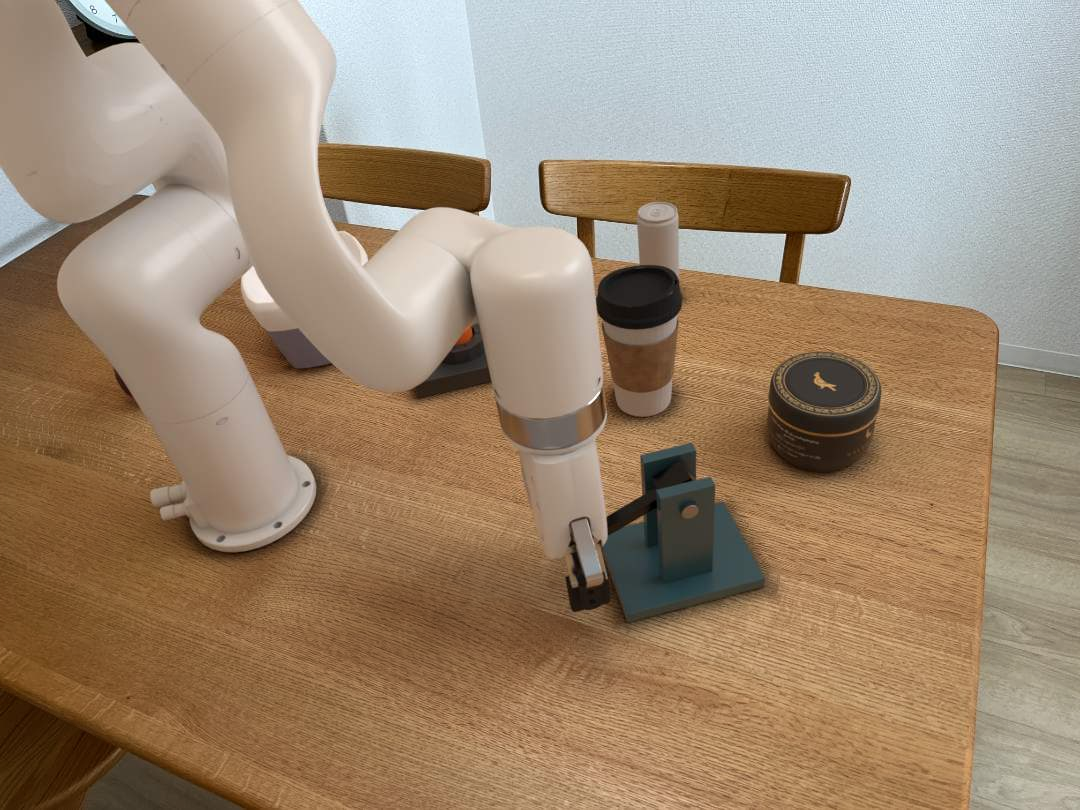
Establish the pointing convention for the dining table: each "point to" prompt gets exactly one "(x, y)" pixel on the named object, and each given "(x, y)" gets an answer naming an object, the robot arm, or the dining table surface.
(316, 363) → the bowl
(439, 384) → the button block
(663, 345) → the coffee cup
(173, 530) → the dining table surface
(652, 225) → the beverage can
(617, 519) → the lever
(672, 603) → the lever base
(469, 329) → the button
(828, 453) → the jar
